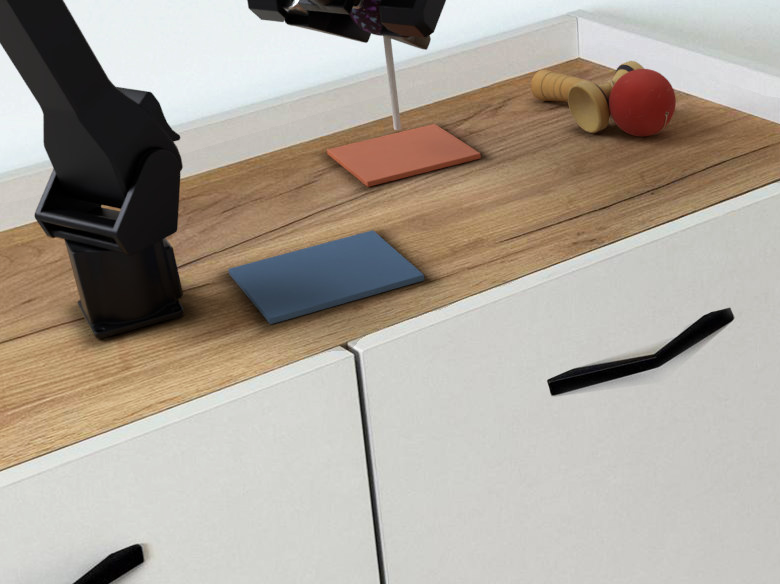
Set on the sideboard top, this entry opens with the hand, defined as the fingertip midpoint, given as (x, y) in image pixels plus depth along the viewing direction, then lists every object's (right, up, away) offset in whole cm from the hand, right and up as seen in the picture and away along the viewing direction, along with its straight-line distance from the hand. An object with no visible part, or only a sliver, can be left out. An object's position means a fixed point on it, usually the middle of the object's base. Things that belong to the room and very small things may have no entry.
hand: (397, 41), depth 116 cm
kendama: (+18, -5, +9) cm, 21 cm away
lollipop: (0, -7, +3) cm, 8 cm away
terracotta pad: (0, -9, +4) cm, 10 cm away
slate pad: (-4, -22, -17) cm, 28 cm away
